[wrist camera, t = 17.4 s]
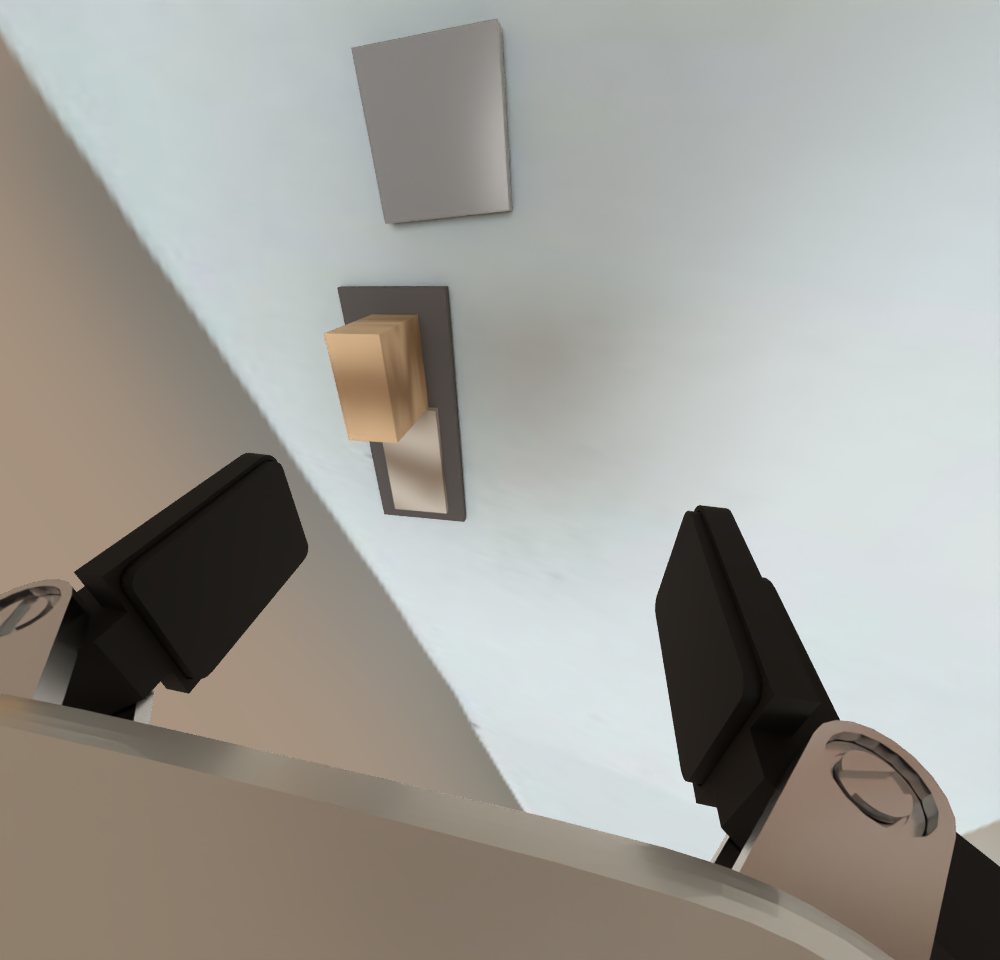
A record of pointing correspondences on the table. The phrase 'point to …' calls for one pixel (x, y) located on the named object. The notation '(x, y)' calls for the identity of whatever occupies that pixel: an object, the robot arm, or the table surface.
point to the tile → (437, 122)
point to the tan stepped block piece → (391, 404)
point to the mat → (438, 376)
